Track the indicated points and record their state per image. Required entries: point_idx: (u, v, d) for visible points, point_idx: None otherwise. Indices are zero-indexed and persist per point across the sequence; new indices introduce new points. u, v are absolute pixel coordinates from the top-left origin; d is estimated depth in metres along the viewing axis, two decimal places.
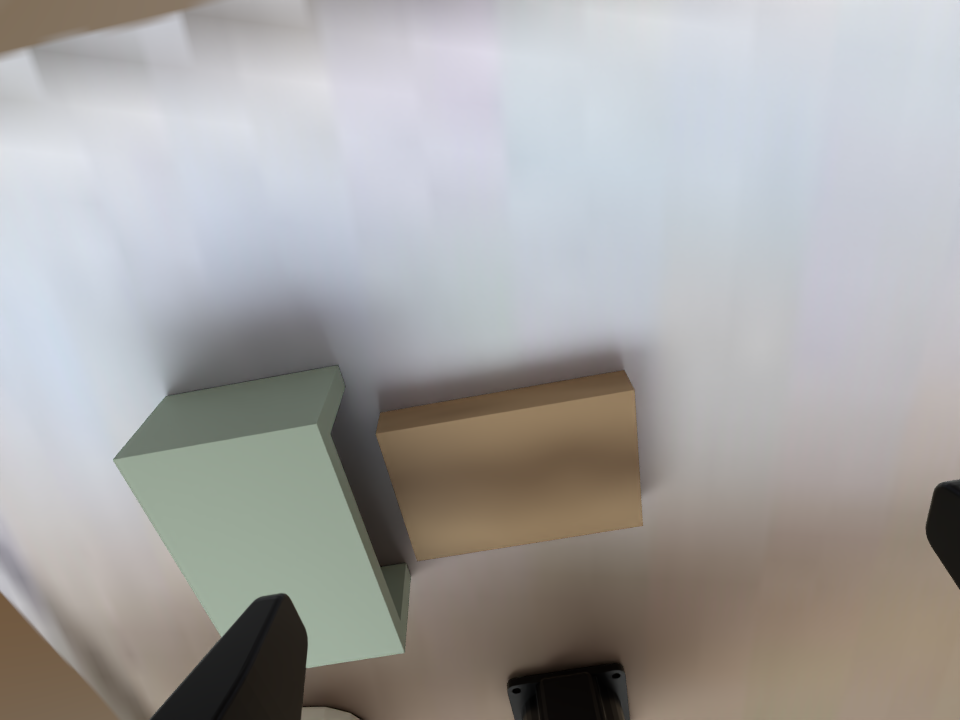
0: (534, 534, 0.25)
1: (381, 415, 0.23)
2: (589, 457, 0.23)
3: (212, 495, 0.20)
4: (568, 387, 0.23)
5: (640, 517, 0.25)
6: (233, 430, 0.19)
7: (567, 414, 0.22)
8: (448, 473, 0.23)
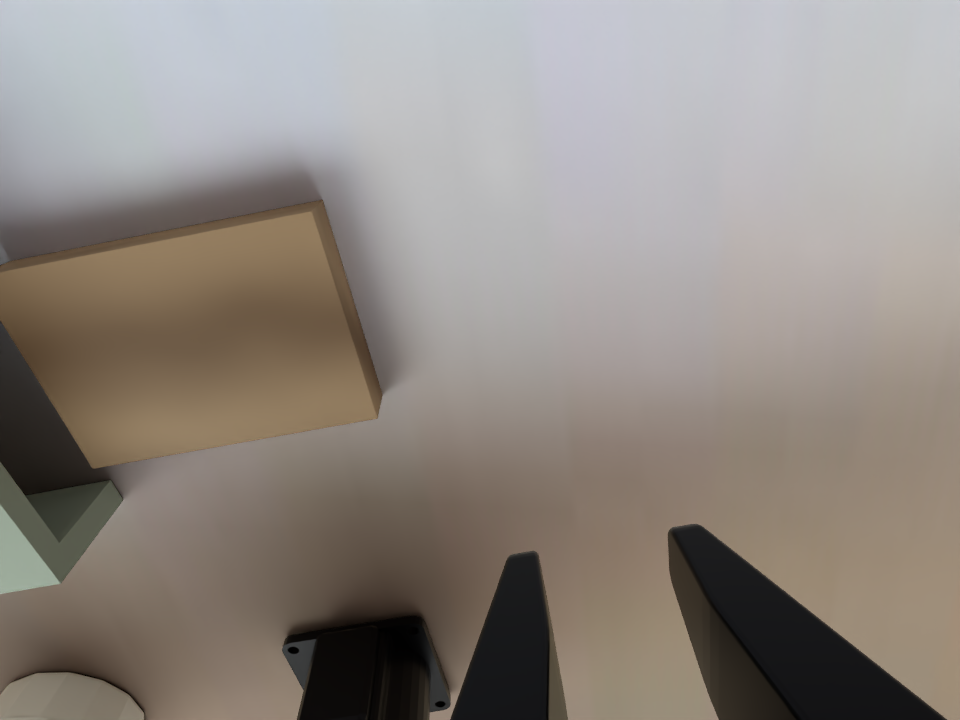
0: (236, 430, 0.19)
1: (6, 263, 0.18)
2: (277, 316, 0.17)
3: None
4: (241, 218, 0.17)
5: (371, 406, 0.19)
6: None
7: (230, 249, 0.16)
8: (93, 339, 0.18)
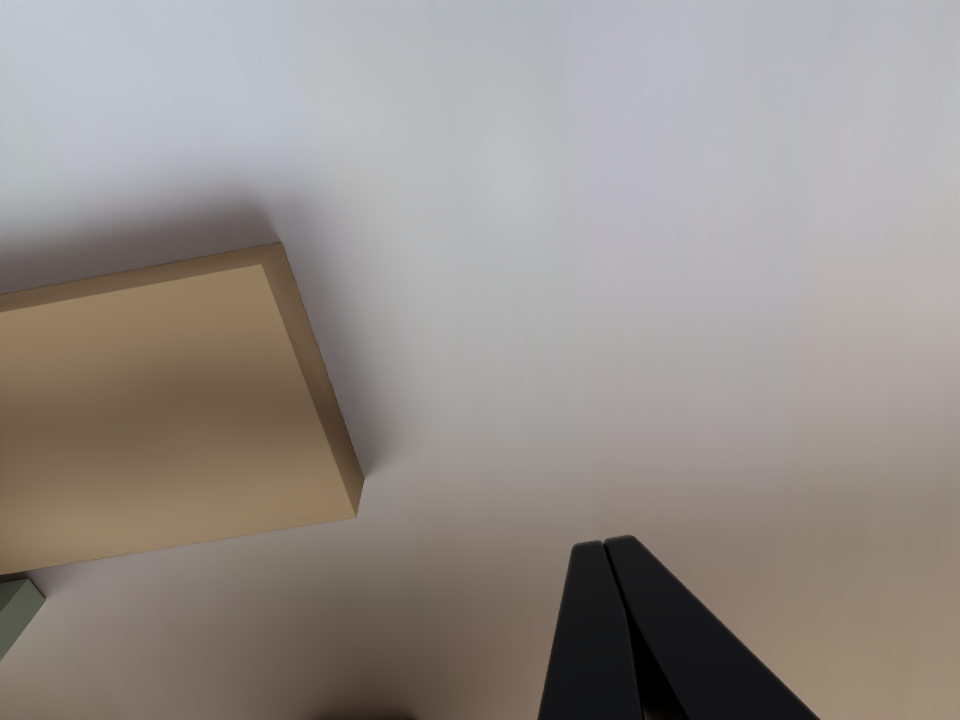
0: (175, 531, 0.15)
1: None
2: (221, 396, 0.13)
3: None
4: (171, 269, 0.13)
5: (347, 503, 0.15)
6: None
7: (153, 313, 0.12)
8: None
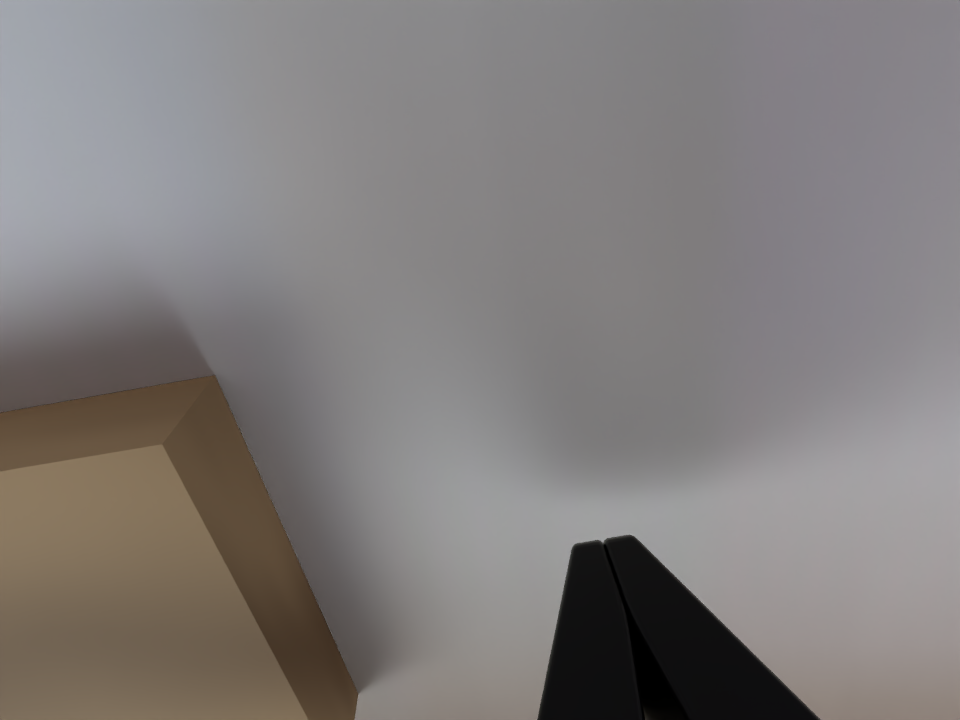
0: None
1: None
2: (110, 639, 0.08)
3: None
4: (16, 429, 0.07)
5: None
6: None
7: None
8: None
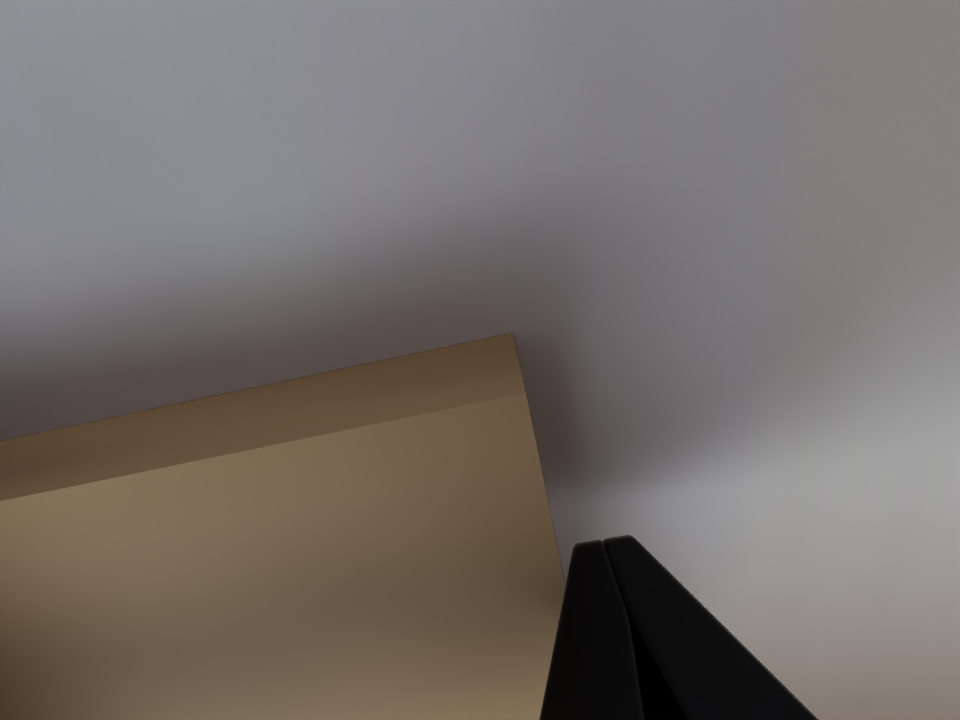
0: None
1: None
2: (416, 602, 0.08)
3: None
4: (331, 391, 0.07)
5: None
6: None
7: (313, 482, 0.07)
8: (1, 661, 0.08)
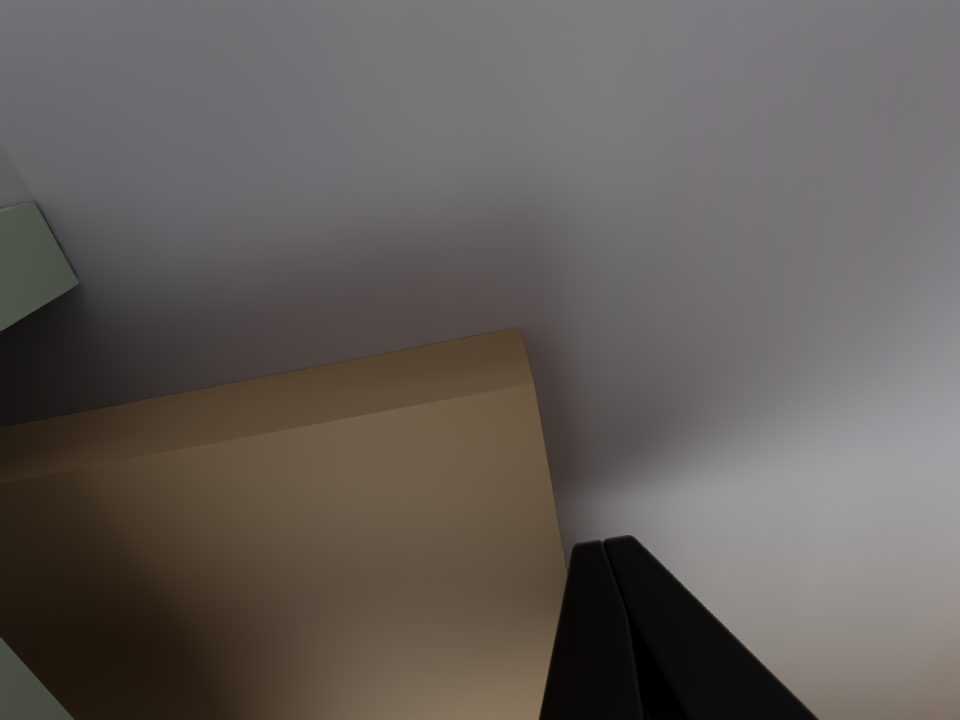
0: None
1: None
2: (417, 592, 0.08)
3: None
4: (339, 379, 0.07)
5: None
6: None
7: (320, 470, 0.07)
8: None
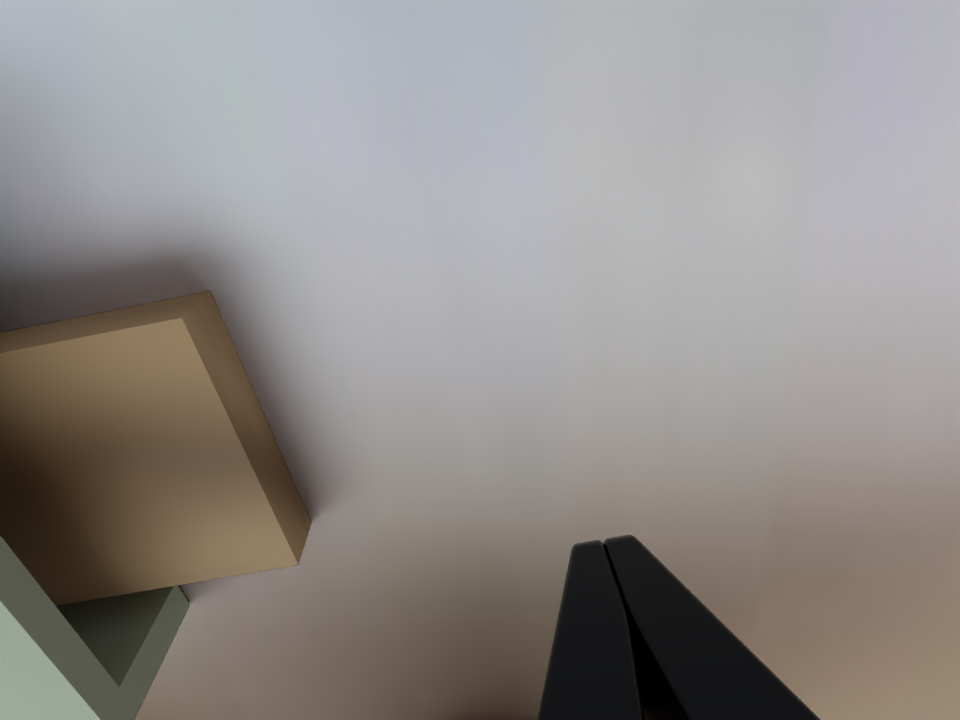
0: (114, 581, 0.15)
1: None
2: (151, 448, 0.13)
3: None
4: (97, 320, 0.12)
5: (288, 551, 0.14)
6: None
7: (75, 367, 0.12)
8: None
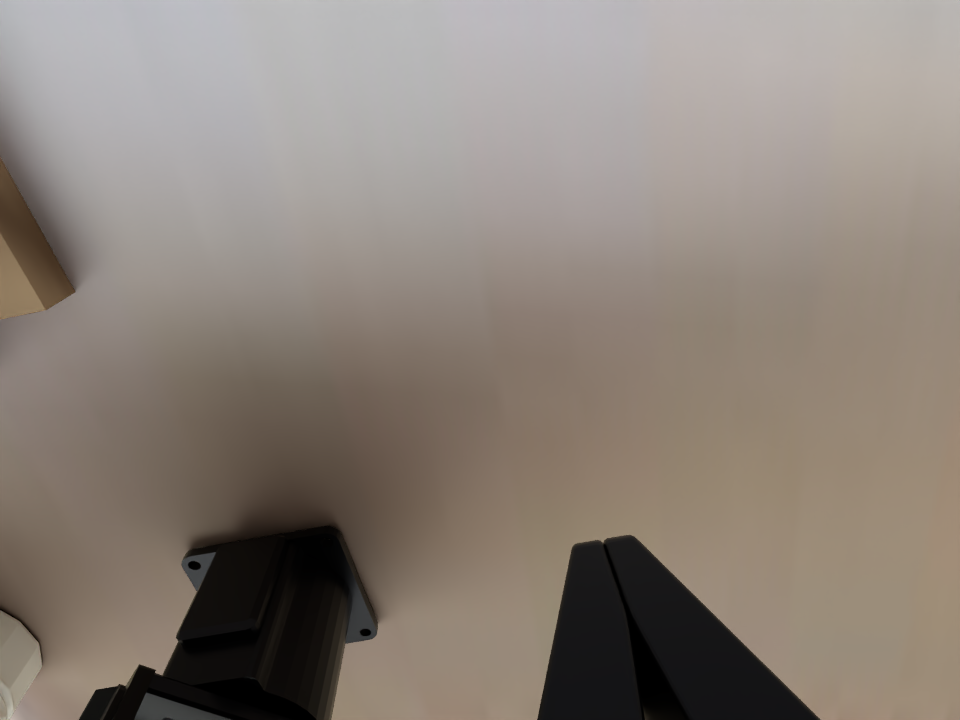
0: None
1: None
2: None
3: None
4: None
5: (34, 295, 0.17)
6: None
7: None
8: None
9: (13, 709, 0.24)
